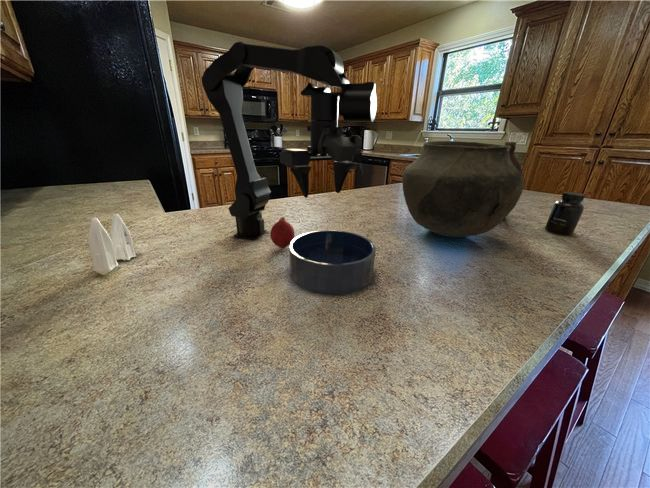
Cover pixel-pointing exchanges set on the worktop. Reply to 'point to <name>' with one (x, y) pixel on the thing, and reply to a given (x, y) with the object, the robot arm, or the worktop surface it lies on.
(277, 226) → the onion
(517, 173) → the pot
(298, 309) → the worktop surface
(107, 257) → the shaker set
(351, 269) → the bowl
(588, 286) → the worktop surface
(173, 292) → the worktop surface
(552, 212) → the supplement bottle
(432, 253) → the worktop surface
